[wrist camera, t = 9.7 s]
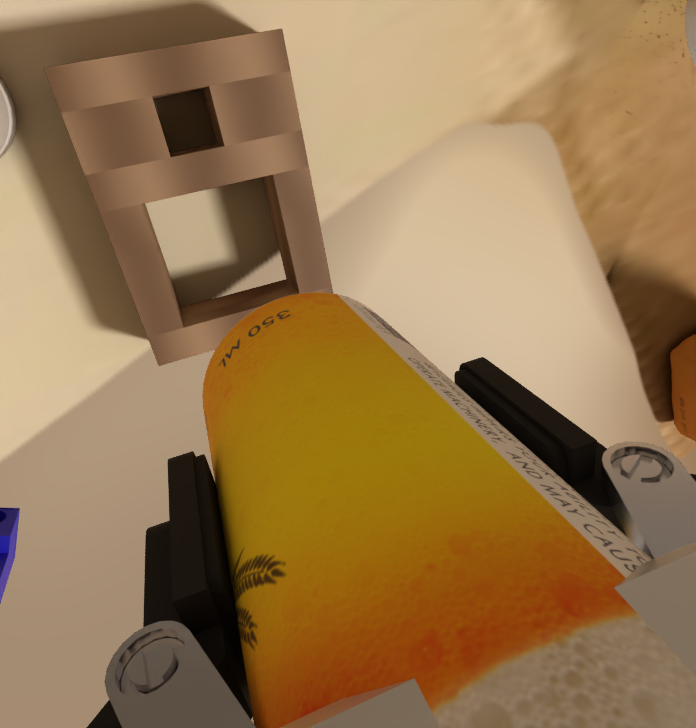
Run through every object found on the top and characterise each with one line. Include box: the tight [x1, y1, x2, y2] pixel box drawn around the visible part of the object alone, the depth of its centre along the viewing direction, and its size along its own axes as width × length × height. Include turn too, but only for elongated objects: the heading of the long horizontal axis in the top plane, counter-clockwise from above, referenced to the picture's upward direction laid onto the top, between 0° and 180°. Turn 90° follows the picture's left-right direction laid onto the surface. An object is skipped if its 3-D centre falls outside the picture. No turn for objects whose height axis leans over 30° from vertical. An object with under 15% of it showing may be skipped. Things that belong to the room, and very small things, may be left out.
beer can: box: [203, 292, 696, 728], centre depth 10 cm, size 6×6×15 cm
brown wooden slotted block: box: [44, 29, 333, 366], centre depth 32 cm, size 12×17×4 cm
